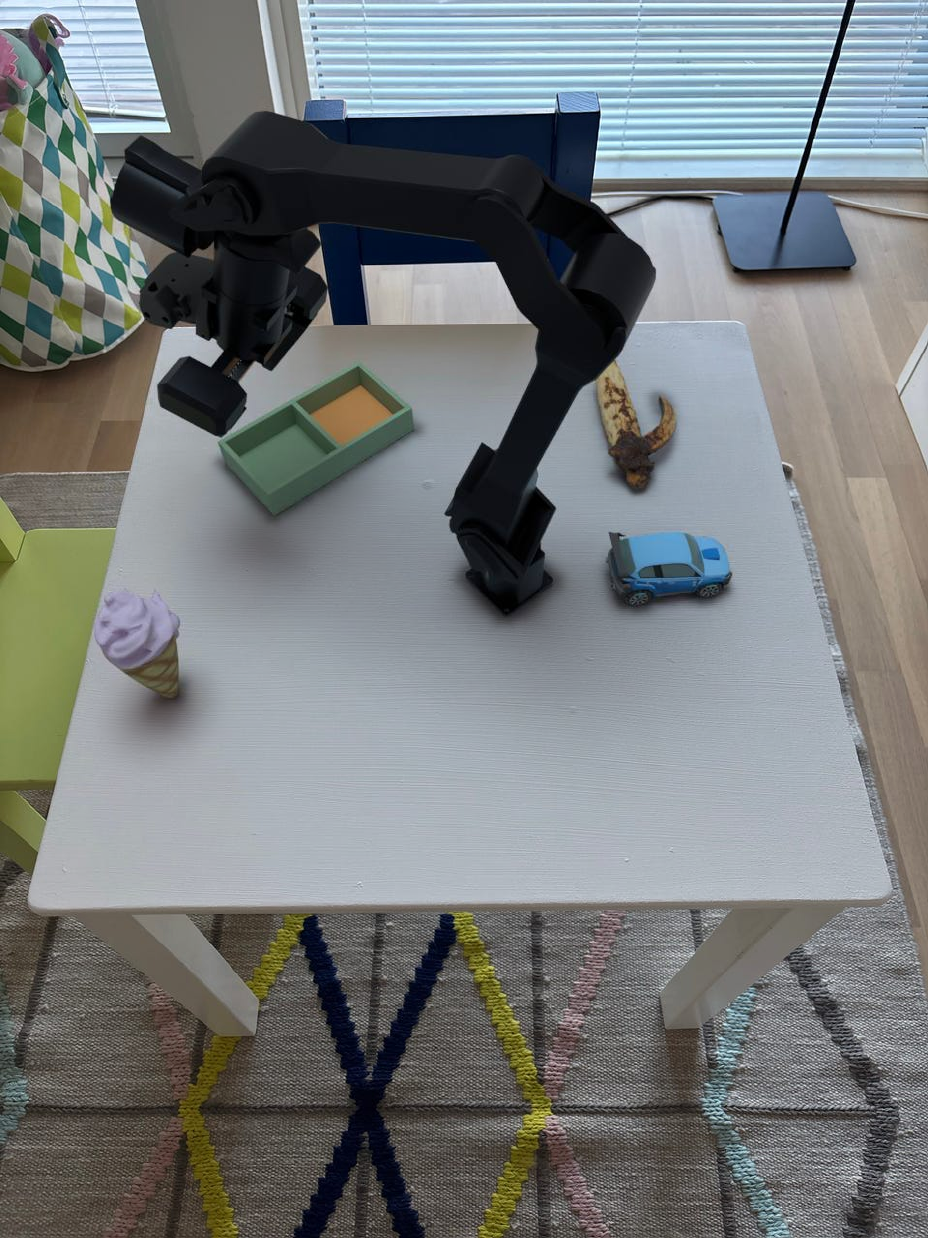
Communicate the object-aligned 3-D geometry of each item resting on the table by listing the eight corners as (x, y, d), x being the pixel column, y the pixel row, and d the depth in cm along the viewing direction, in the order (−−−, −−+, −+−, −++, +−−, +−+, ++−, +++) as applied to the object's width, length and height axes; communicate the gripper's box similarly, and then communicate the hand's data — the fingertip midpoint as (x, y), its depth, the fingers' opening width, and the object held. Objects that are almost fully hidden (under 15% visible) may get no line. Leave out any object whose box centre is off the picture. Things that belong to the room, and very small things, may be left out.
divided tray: (414, 429, 102) (412, 407, 99) (274, 516, 96) (267, 495, 93) (362, 382, 106) (359, 360, 103) (224, 462, 100) (217, 441, 97)
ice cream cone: (179, 647, 88) (129, 557, 75) (224, 684, 86) (180, 597, 73) (125, 696, 85) (63, 610, 72) (169, 734, 83) (114, 653, 70)
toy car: (731, 597, 90) (745, 564, 85) (611, 609, 90) (619, 576, 85) (716, 549, 93) (729, 515, 88) (600, 560, 93) (607, 526, 88)
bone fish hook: (693, 490, 98) (656, 369, 107) (705, 462, 94) (664, 338, 103) (608, 497, 97) (577, 374, 106) (616, 468, 93) (583, 343, 102)
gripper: (221, 161, 76) (218, 296, 89) (88, 301, 67) (107, 427, 80) (340, 227, 76) (319, 351, 90) (224, 374, 67) (220, 487, 81)
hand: (242, 400), depth 85 cm, fingers open, 9 cm apart
